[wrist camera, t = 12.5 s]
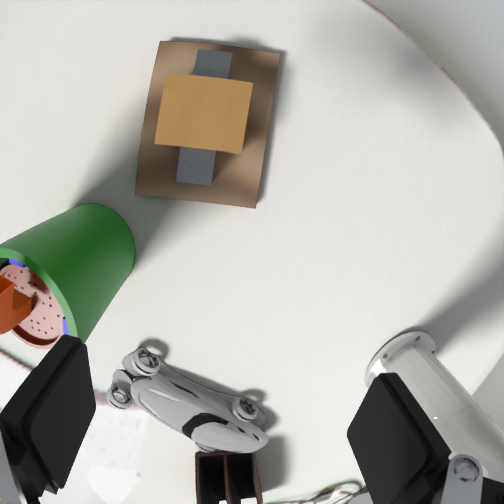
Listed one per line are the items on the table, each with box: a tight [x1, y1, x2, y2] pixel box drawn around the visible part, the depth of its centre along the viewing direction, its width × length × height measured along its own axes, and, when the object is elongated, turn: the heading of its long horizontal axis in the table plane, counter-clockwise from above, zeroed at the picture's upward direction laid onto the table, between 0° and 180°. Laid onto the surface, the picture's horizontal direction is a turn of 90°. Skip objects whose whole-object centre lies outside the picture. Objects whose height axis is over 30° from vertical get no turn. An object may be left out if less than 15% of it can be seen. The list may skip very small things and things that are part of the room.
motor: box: [0, 203, 135, 349], centre depth 21 cm, size 10×9×20 cm
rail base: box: [135, 41, 280, 209], centre depth 27 cm, size 16×12×2 cm
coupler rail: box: [176, 49, 233, 185], centre depth 25 cm, size 12×3×4 cm, turn 172°
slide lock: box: [154, 73, 253, 155], centre depth 24 cm, size 6×7×4 cm
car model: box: [107, 348, 268, 453], centre depth 37 cm, size 11×24×5 cm, turn 52°
